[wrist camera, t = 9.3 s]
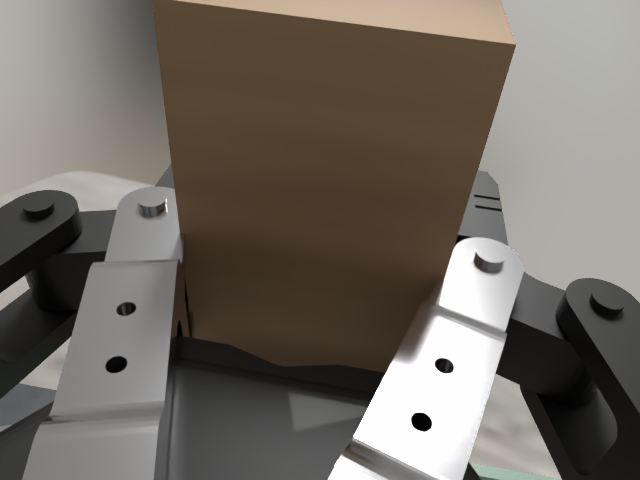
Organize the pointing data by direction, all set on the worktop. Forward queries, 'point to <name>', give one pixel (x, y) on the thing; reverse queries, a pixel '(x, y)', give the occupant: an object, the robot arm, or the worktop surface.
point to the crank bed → (23, 403)
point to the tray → (504, 474)
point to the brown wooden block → (324, 163)
